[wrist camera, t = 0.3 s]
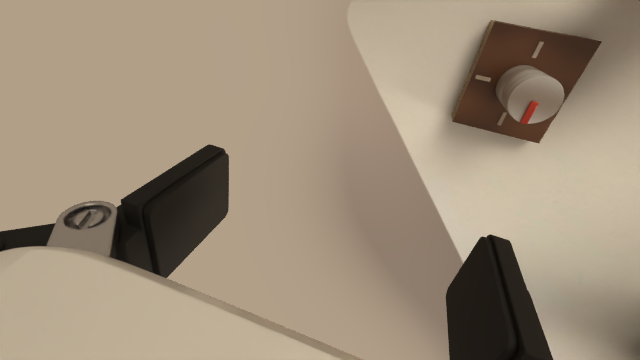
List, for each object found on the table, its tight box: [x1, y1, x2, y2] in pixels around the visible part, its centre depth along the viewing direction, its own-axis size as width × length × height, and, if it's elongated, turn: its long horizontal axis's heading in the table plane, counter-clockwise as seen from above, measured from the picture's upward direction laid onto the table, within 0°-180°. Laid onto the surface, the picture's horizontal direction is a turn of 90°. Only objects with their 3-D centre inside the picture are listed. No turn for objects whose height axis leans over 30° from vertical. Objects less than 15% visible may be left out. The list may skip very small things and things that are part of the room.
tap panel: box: [451, 20, 601, 143], centre depth 30 cm, size 10×9×2 cm
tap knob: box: [496, 65, 564, 124], centre depth 27 cm, size 4×4×6 cm
